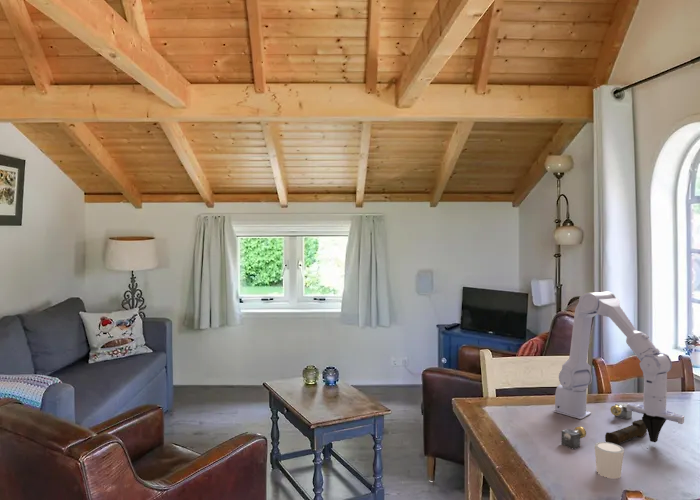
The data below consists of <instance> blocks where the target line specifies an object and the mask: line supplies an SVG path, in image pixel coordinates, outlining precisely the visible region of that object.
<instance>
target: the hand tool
mask: <svg viewBox="0 0 700 500" xmlns="http://www.w3.org/2000/svg"><path fill="white" fill-rule="evenodd" d="M647 433H648V431H647V428H646V426H645V424H644V422H643V420H642V418H641V419H638V420H634V421H632V423H631V425H628V426H625V427H623V428H620V429H616V430H615V431H614V430H613V431H612V432H606V433H605V435H604V442H609V443H613V444H617V445H619V446H621V444H623V443H624V442H626V441H630V440H633V439H635V438H642V437H644V436H645V435H646V434H647Z"/></svg>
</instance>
